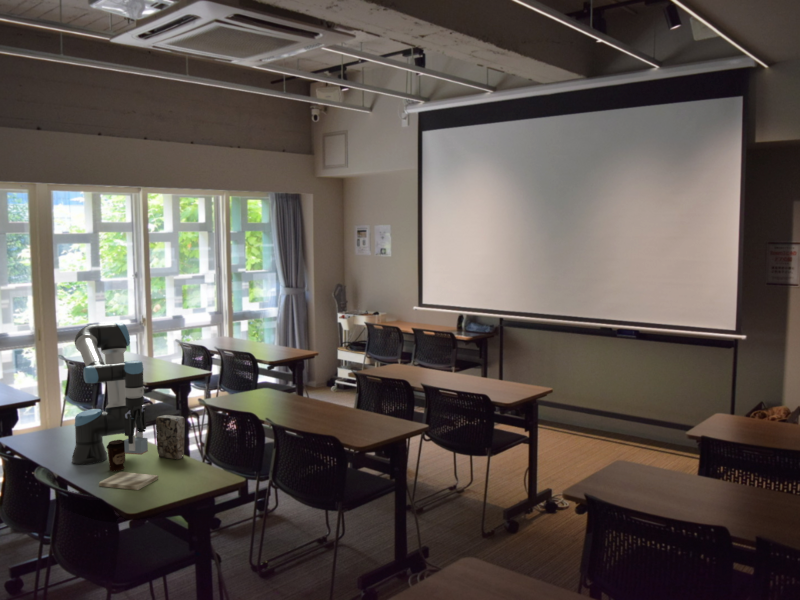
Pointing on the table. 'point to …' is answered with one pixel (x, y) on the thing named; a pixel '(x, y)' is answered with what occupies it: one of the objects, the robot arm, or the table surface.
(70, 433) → the table surface
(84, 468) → the table surface
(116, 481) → the board
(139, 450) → the block
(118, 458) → the coffee cup
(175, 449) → the stone block
